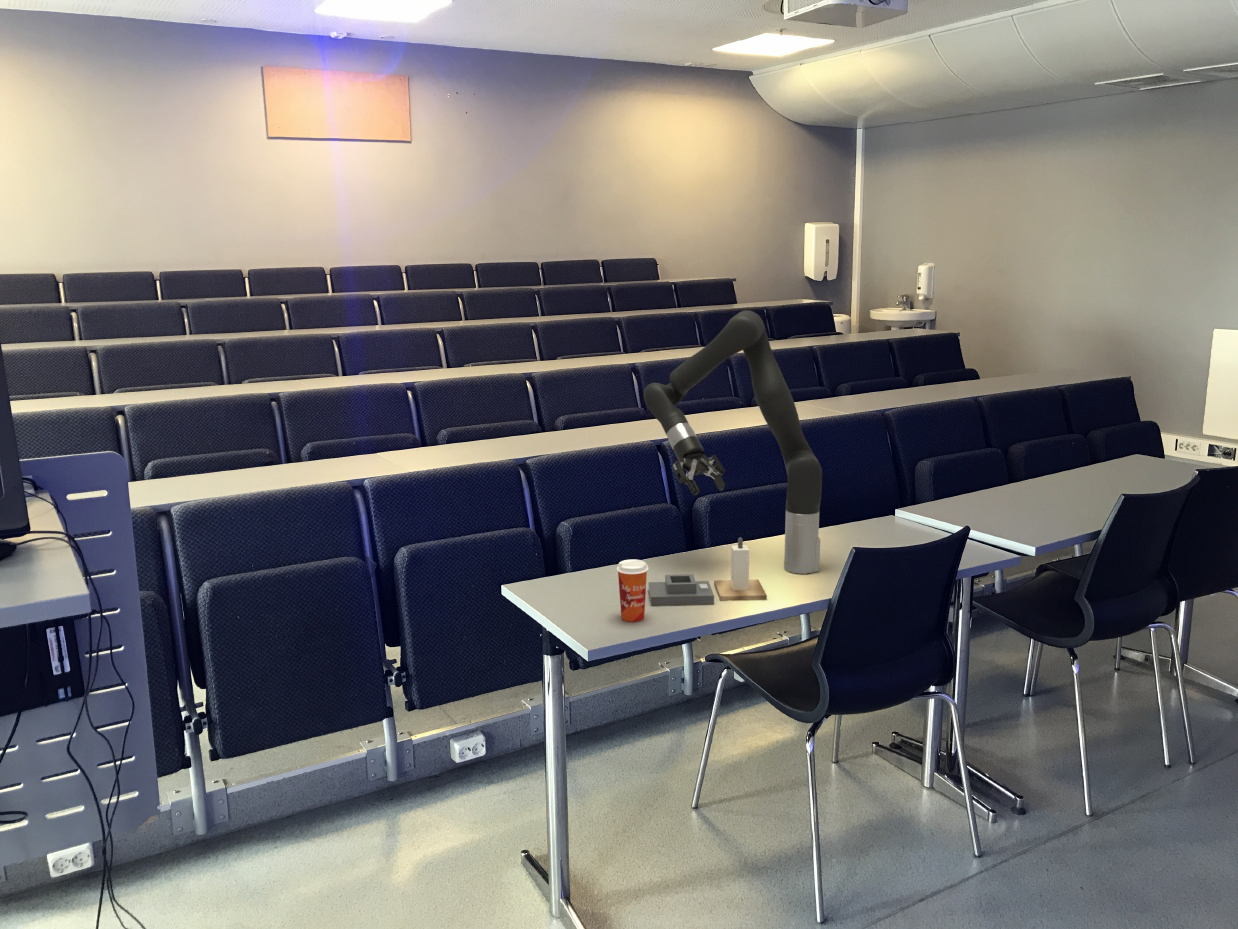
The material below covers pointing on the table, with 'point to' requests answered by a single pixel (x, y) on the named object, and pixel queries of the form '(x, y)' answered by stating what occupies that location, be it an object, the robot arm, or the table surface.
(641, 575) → the paper cup
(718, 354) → the robot arm
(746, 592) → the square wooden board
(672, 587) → the gray socket base
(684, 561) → the table surface
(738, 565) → the plug
